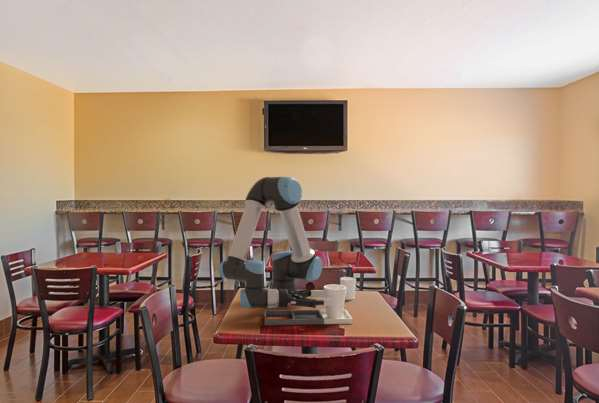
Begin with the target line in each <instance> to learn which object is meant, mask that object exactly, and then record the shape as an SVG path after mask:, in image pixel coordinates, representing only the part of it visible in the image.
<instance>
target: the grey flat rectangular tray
mask: <svg viewBox="0 0 599 403" xmlns="http://www.w3.org/2000/svg"><path fill="white" fill-rule="evenodd" d="M267 316H291V318H288V319H287V318H285V319H283V318H281V319H279V318H277V319H267ZM347 324H348V325H349V324H353V317H352V316H351V314H350V313H349V312H348V310H347V309H343V316H342V318H338V319H328V318H327V314H326V309H289V310H288V309H287V310H285V309H283V310H280V309H279V310H277V309H275V310H272V309H269V310H266V309H265V310H264V326H285V325H286V326H289V325H290V326H292V325H293V326H294V325H295V326H297V325H301V326H302V325H347Z"/></svg>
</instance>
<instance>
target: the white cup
mask: <svg viewBox="0 0 599 403" xmlns="http://www.w3.org/2000/svg"><path fill="white" fill-rule="evenodd" d="M339 281H340V282H339V283H340V284H339V285H343V286H345V287H346V295H345V301H352V300H355V298H356V285H357V278H356V277H350V276H344V277H340V280H339Z"/></svg>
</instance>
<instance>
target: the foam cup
mask: <svg viewBox="0 0 599 403" xmlns="http://www.w3.org/2000/svg"><path fill="white" fill-rule="evenodd" d="M323 290H324V296H325V297H324V299H325V298H332V306H325V310H326V314H327V318H328V319H338V318H342V316H343V309H344V308H345V301H346V300H345V295H346V287H345V286H343V285H340V284H334V283H333V284H327V285H326V284H325V285H324V286H323Z"/></svg>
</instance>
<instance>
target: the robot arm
mask: <svg viewBox="0 0 599 403" xmlns="http://www.w3.org/2000/svg"><path fill="white" fill-rule="evenodd" d="M302 193H303V188H302V186H301V184H300V182H299V180H298V179H297V178H295V177H293V176H265V177H262V178H260V179H259V180H257V181H256V182H255V183H254V184H253V185H252V186H251V188H250V189H249V191H248V193H247V195H246V197H245V200H244V203H245V207H244V210H243V213H242V215H241V218H240V221H239V223H238V224H239V225H238V226H237V230H236V233H235V235H234V237H233V242H232V244H231V247H230V249H229V252H228V256H227V258H226V260H222V261H221V262H220V263H219V265H218V267H217V273H218V276H220V277H221V278H222V279H227V280H232V281H238V282H243V283H244V288H242V289H241V290H240V294H239V295H240V296H239V297H240V298H239V299H240V300H239V305H240V307H241V308H242V309H243V308H244V309H264V308H265V309H269V310H272V309H273V308H275V309H276V308H285V309H286V308H288V306H289V304H290V306H295V307H297V306H298V307H306V308H313V309H316V308H317V307H319V306H320V307H321V306H322V307H323V306H325V307H326V306H332V298H325V296H324V289H322V290H320V289H318V290H317V289H316V290H312V289H311V288H308V289H299V290H298V287H297V284H296V279H297V280H303V281H307V282H308V281H310V282H312V281H313V282H314V281H316V280H318V278H319V277H320V276H321V273H322V270H323V265H324V264H323V260H322V258H321V257H319V256H316V254H315V251H314V249H313V248H312V247H310V244H309V240H308V237H307V234H306V230H305V227H304V223H303V220H302V217H301V214H300V210H299V205H300V201H301V199H302V196H303V195H302ZM270 203H271V204H273V206H274V209H275V211H277V212H279V214H280V217H281V221H282V225H283V227H284V231H285V232H286V237H287V240H288V242H289V246H290V249H291V250H286V251H282V250H281V251H277V252H274V253H273V254H272V258H271V259H272V260H271V263H272V266H271V267H272V268H271V269H272V270H271V271H272V273H271V274H272V276H271V277H272V278H271V285H270V288H264V286H265V284H264V282H265V281H264V280H265V268H264V265H265V264H264V261H263V260H261V259H248V260H246V258H247V255H248V252H249V249H250V247H251V246H250V245H252V241H253V237H254V234H255V232H256V228H257V225H258V222H259V221H260V216H261V213H262V211H264V210H265V209H266V206H267V204H270ZM314 298H315V299H314Z"/></svg>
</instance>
